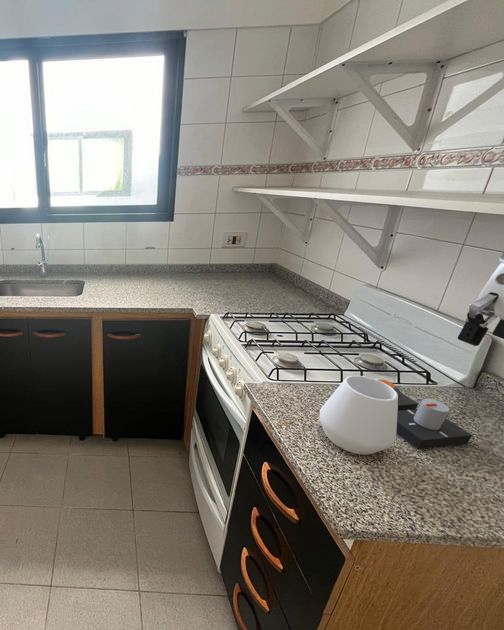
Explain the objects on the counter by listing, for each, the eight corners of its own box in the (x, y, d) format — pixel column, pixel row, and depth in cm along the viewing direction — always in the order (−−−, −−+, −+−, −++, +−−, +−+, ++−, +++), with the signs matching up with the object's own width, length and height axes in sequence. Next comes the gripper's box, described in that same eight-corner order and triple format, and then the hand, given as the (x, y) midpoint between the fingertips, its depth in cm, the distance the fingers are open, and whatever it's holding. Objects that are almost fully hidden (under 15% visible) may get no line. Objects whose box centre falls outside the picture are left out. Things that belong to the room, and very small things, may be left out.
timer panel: (425, 416, 83) (429, 407, 82) (467, 443, 75) (472, 434, 74) (380, 420, 82) (384, 411, 80) (418, 449, 73) (423, 439, 72)
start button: (383, 384, 88) (385, 378, 88) (396, 393, 85) (399, 387, 84) (370, 385, 88) (373, 380, 87) (383, 394, 85) (386, 388, 84)
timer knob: (425, 415, 79) (434, 396, 77) (445, 428, 75) (456, 409, 73) (408, 417, 79) (417, 398, 77) (427, 430, 75) (437, 411, 73)
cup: (384, 474, 68) (411, 418, 62) (307, 439, 76) (324, 387, 70) (391, 437, 76) (416, 386, 71) (321, 410, 85) (338, 362, 79)
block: (382, 388, 93) (387, 376, 91) (415, 410, 85) (421, 397, 83) (344, 391, 92) (349, 379, 90) (374, 414, 83) (380, 401, 82)
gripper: (529, 265, 57) (477, 354, 64) (597, 260, 60) (540, 345, 68) (473, 253, 63) (431, 335, 71) (537, 250, 67) (492, 328, 74)
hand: (485, 340), depth 69 cm, fingers open, 9 cm apart
